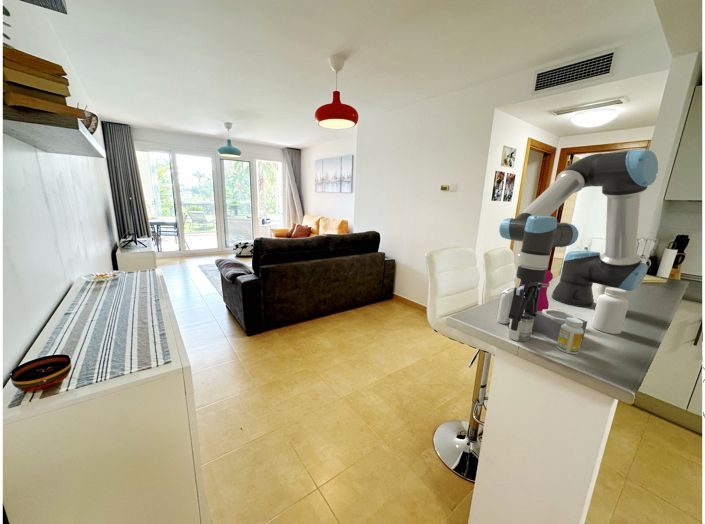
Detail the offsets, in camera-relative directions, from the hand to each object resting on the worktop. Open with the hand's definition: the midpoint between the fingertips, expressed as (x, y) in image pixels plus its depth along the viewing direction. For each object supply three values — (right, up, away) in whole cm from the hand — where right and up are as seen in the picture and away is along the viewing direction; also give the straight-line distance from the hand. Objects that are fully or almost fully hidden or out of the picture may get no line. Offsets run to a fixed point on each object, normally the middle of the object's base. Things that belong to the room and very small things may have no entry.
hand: (518, 336), depth 91 cm
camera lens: (0, 0, 0) cm, 0 cm away
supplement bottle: (+11, -2, -7) cm, 13 cm away
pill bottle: (+36, 0, +9) cm, 37 cm away
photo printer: (+3, +2, +13) cm, 13 cm away
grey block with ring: (+15, 0, +4) cm, 16 cm away
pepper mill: (+18, +3, +19) cm, 26 cm away
